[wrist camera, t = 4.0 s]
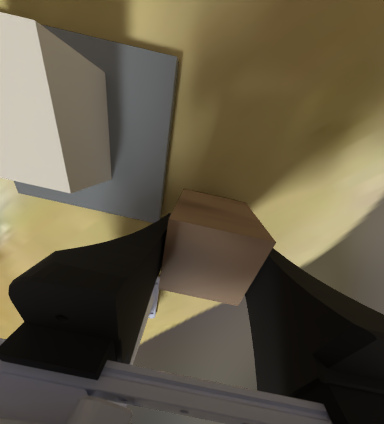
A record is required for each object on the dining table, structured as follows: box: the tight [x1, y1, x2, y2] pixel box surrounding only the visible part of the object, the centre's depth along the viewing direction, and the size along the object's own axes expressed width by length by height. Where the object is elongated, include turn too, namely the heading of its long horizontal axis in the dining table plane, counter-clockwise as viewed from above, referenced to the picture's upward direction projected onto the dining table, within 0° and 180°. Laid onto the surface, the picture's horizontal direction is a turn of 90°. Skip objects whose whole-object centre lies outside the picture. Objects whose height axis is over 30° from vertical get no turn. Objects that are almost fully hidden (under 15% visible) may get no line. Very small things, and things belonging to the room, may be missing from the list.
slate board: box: [14, 25, 179, 223], centre depth 11 cm, size 12×14×1 cm
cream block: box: [0, 12, 112, 193], centre depth 8 cm, size 7×7×4 cm
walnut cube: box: [158, 189, 276, 306], centre depth 9 cm, size 5×5×5 cm
